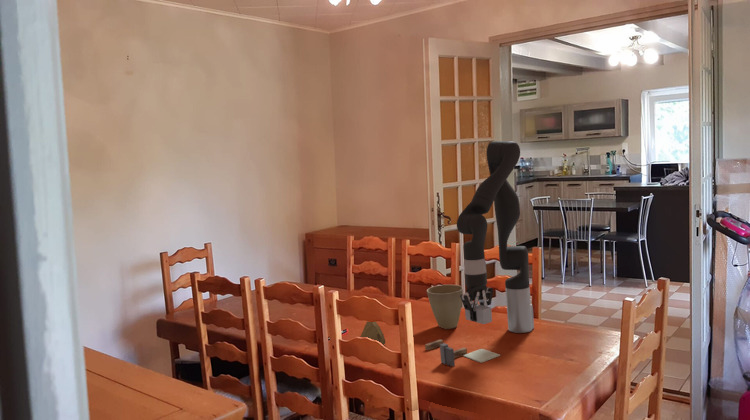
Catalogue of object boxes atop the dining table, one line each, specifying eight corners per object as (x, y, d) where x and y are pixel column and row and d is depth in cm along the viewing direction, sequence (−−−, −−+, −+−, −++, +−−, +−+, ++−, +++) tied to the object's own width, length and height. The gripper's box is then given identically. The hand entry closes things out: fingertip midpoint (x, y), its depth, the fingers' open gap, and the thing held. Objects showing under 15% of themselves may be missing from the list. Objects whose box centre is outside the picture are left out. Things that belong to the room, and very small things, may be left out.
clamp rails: (440, 344, 214) (440, 339, 214) (467, 353, 202) (466, 348, 202) (425, 349, 210) (424, 344, 210) (451, 359, 198) (450, 354, 198)
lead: (474, 316, 202) (473, 303, 202) (492, 321, 195) (491, 307, 194) (465, 319, 200) (464, 305, 200) (483, 324, 193) (482, 310, 192)
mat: (481, 349, 205) (481, 348, 205) (500, 355, 197) (499, 354, 197) (463, 356, 200) (463, 355, 200) (481, 362, 192) (481, 361, 192)
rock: (393, 339, 218) (383, 329, 227) (380, 325, 215) (370, 315, 224) (373, 359, 217) (363, 348, 226) (359, 345, 213) (350, 335, 222)
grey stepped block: (445, 361, 197) (444, 343, 196) (455, 365, 192) (454, 346, 192) (441, 363, 195) (439, 344, 195) (451, 367, 191) (449, 348, 190)
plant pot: (440, 319, 245) (437, 283, 244) (472, 323, 237) (469, 285, 235) (423, 329, 233) (419, 292, 232) (455, 333, 225) (452, 294, 223)
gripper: (467, 276, 189) (471, 326, 190) (497, 268, 196) (501, 317, 198) (452, 273, 195) (456, 322, 197) (482, 266, 203) (486, 313, 204)
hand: (479, 319), depth 197 cm, fingers closed on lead, 4 cm apart
